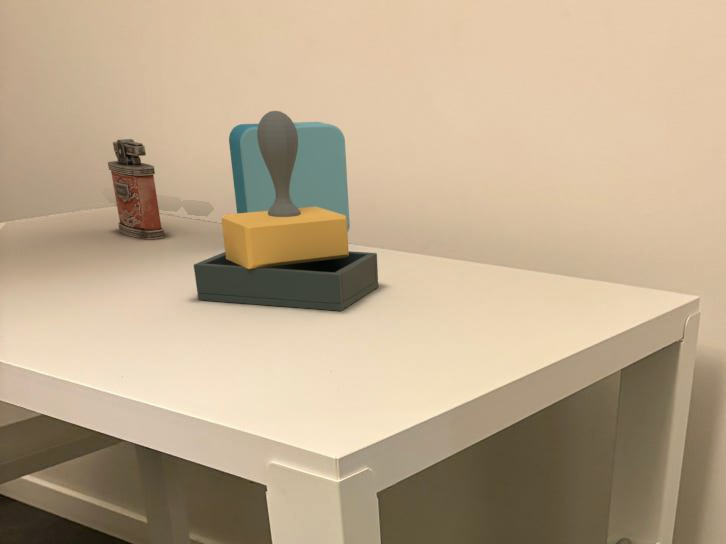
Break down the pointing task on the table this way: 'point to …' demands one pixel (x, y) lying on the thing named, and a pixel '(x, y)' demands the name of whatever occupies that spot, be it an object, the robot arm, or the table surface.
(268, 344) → the table surface
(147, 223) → the lighter
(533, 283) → the table surface
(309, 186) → the teal rounded flat block
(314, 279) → the holder
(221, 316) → the table surface
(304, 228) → the rubber stamp
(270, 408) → the table surface
